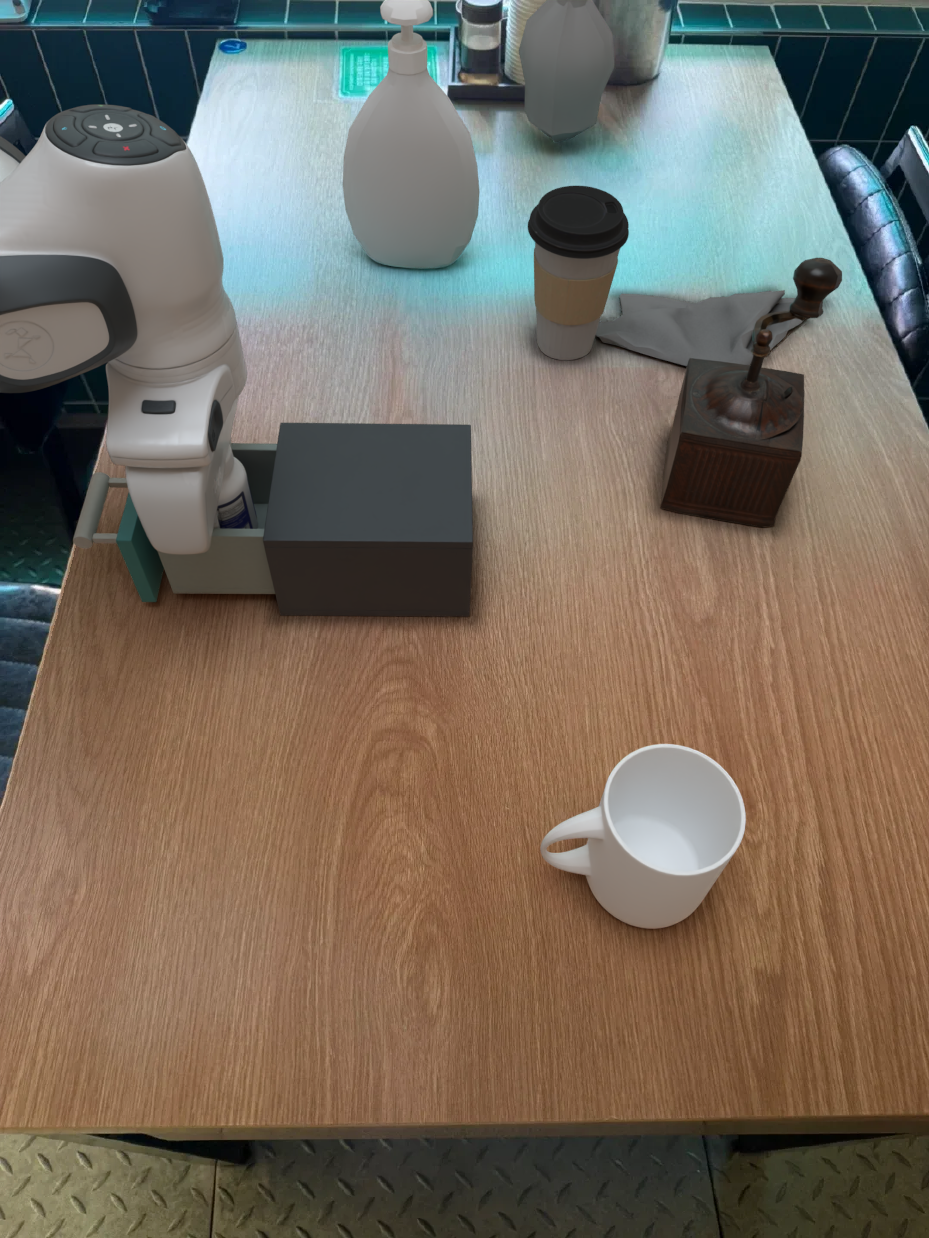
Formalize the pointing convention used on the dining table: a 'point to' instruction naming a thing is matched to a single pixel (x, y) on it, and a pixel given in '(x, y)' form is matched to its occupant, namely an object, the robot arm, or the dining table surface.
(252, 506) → the pill bottle
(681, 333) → the cloth
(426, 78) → the soap bottle
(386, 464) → the drawer cabinet
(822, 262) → the manual coffee grinder
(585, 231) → the coffee cup
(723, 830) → the mug
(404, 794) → the dining table surface
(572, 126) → the bottle
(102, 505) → the teal drawer
